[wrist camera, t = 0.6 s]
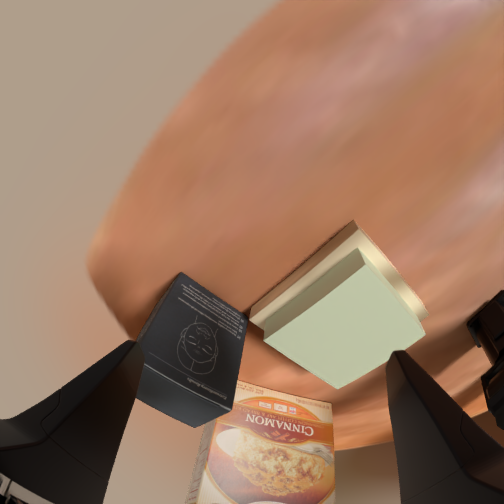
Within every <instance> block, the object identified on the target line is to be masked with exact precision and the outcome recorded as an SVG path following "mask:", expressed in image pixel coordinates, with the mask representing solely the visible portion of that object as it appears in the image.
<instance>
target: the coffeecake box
mask: <svg viewBox="0 0 504 504" xmlns="http://www.w3.org/2000/svg"><path fill="white" fill-rule="evenodd" d="M185 504H335V461H334V437H333V419H332V404H331V403H327V402H322V401H317V400H312V399H308V398H303V397H298V396H294V395H290V394H286V393H282V392H278V391H274V390H270V389H267V388H263V387H259V386H256V385H253V384H249V383H246V382H243V381H239V380H237V386H236V392H235V397H234V402H233V408H232V410H231V411H230V412H229V413H227V414H225V415H222V416H220V417H218V418H216V419H214V420H212V421H210V422H207V423H205V427H204V431H203V435H202V439H201V443H200V446H199V451H198V454H197V458H196V462H195V466H194V470H193V474H192V478H191V482H190V486H189V490H188V493H187V497H186V501H185Z"/></svg>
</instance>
